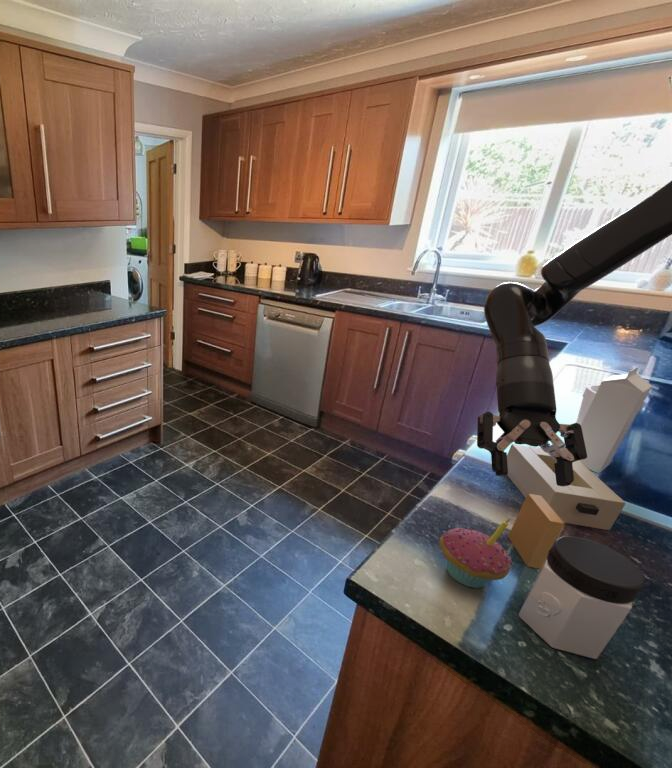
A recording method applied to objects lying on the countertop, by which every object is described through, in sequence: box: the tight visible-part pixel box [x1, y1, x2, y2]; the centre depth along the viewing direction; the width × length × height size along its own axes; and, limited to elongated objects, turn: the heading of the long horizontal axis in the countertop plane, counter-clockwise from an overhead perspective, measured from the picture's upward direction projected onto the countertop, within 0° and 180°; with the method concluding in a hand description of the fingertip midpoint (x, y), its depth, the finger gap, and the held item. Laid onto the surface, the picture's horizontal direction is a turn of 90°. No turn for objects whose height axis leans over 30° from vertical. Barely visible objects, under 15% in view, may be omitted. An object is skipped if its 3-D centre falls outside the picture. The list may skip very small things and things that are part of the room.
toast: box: [507, 494, 566, 570], centre depth 66 cm, size 2×6×9 cm, turn 164°
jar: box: [517, 535, 646, 660], centre depth 54 cm, size 9×8×12 cm
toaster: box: [506, 443, 626, 531], centre depth 79 cm, size 17×10×6 cm, turn 165°
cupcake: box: [438, 518, 513, 589], centre depth 61 cm, size 9×8×12 cm
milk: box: [579, 365, 653, 474], centre depth 87 cm, size 6×6×22 cm
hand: (532, 480), depth 68 cm, fingers open, 8 cm apart
